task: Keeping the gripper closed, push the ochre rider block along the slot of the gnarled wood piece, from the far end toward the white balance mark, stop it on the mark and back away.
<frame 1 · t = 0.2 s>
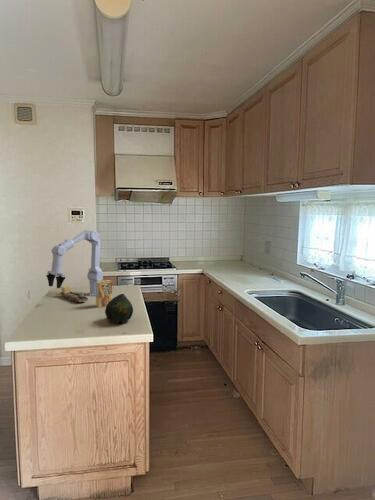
hand: (54, 287, 226), 10 cm above the counter, tool pointing down, fingers open, 7 cm apart
rider: (65, 289, 244), point 5 cm above the counter, slide at 10.0 cm
squash: (119, 321, 197), on the counter
candy box: (104, 306, 224), on the counter
gnarled wood piece: (73, 299, 237), on the counter
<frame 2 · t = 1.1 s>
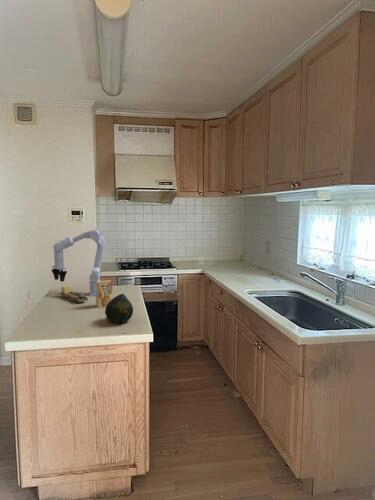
hand: (59, 280, 247), 10 cm above the counter, tool pointing down, fingers open, 7 cm apart
nothing on the counter moved.
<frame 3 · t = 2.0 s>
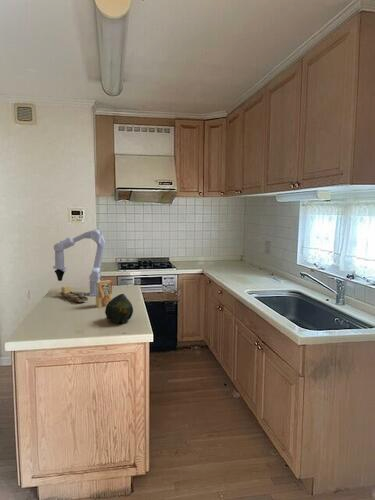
hand: (60, 280, 248), 10 cm above the counter, tool pointing down, fingers closed
nothing on the counter moved.
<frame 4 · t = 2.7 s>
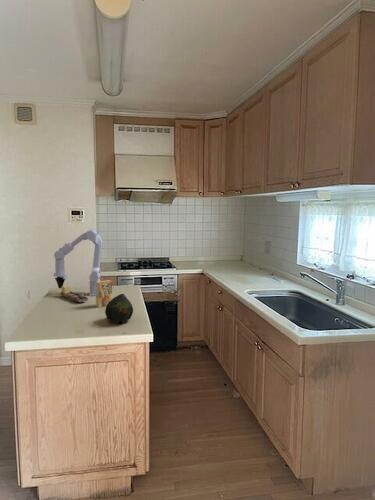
hand: (60, 288, 249), 5 cm above the counter, tool pointing down, fingers closed
nothing on the counter moved.
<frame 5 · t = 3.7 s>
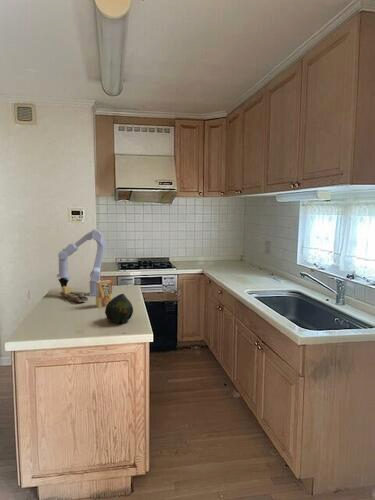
hand: (63, 289, 245), 5 cm above the counter, tool pointing down, fingers closed
rider: (66, 289, 243), point 5 cm above the counter, slide at 9.3 cm, touching gripper
everything else where it was.
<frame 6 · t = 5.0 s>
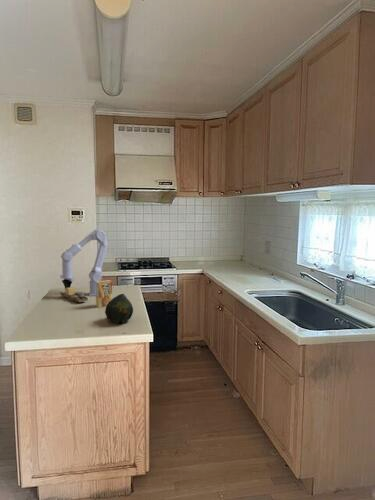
hand: (67, 290, 242), 5 cm above the counter, tool pointing down, fingers closed
rider: (70, 291, 240), point 5 cm above the counter, slide at 4.5 cm, touching gripper
everything else where it was.
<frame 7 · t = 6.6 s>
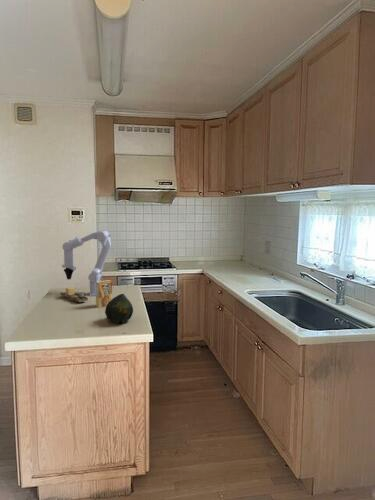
hand: (69, 279, 252), 10 cm above the counter, tool pointing down, fingers closed
rider: (70, 291, 240), point 5 cm above the counter, slide at 4.5 cm
everything else where it was.
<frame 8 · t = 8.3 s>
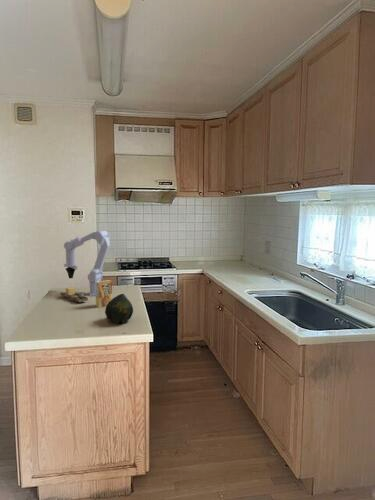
hand: (70, 278, 256), 10 cm above the counter, tool pointing down, fingers closed
nothing on the counter moved.
at the end: rider slide at 4.5 cm; rider moved 4.5 cm from its start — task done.
